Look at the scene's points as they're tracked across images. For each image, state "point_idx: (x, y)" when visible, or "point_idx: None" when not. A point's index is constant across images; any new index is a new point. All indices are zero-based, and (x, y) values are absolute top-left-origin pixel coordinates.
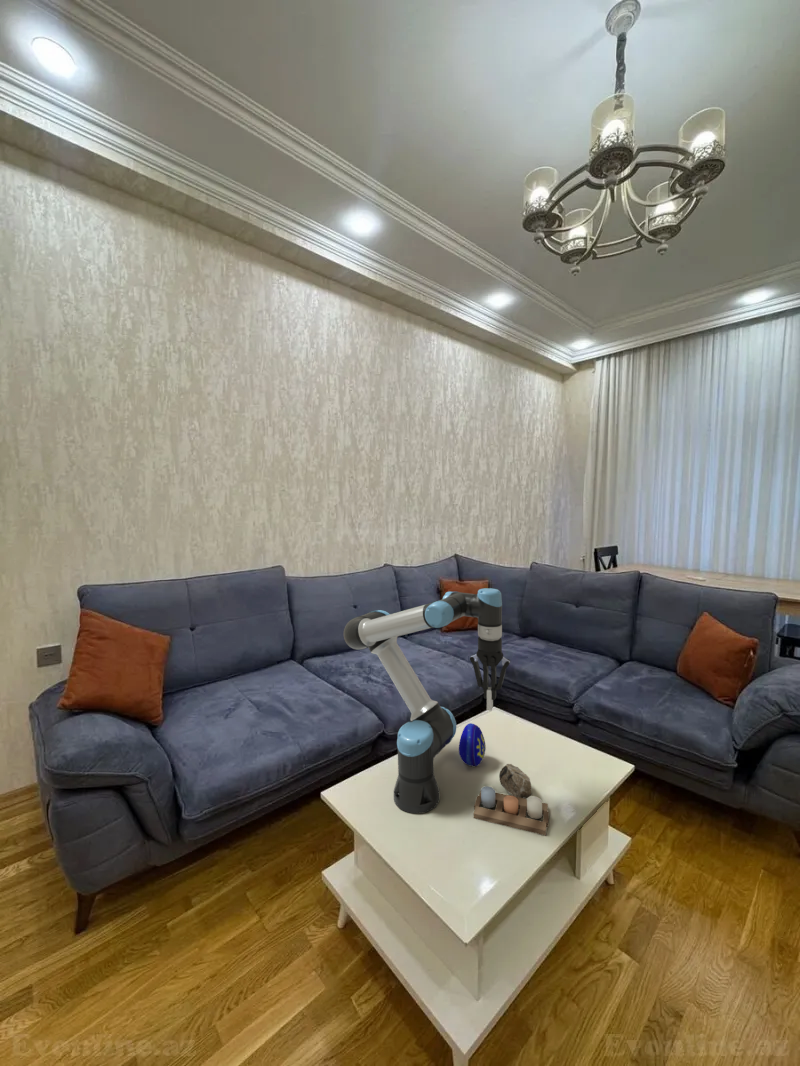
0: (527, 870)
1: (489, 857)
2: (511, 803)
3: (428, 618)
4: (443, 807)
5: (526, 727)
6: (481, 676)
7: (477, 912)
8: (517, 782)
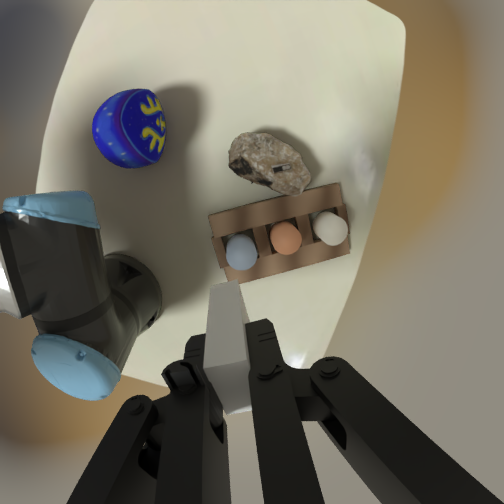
0: (335, 321)
1: (285, 332)
2: (291, 249)
3: None
4: (172, 288)
5: None
6: (128, 455)
7: None
8: (285, 191)
